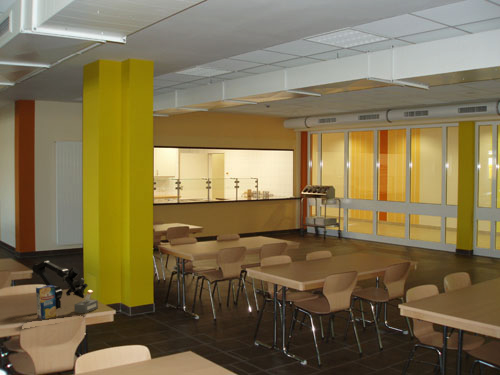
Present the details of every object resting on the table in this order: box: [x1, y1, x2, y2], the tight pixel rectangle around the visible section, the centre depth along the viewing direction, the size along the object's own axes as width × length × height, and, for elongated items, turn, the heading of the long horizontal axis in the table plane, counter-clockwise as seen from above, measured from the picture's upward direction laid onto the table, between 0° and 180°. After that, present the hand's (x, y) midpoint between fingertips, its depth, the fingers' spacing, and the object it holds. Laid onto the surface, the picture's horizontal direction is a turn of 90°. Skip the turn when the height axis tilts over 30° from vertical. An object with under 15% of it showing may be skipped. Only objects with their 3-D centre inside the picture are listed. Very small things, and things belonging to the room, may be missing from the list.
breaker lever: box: [83, 289, 94, 301], centre depth 393 cm, size 2×4×8 cm, turn 159°
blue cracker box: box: [35, 285, 57, 320], centre depth 380 cm, size 7×11×22 cm, turn 134°
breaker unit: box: [73, 299, 99, 314], centre depth 395 cm, size 10×14×6 cm
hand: (83, 297), depth 395 cm, fingers closed
